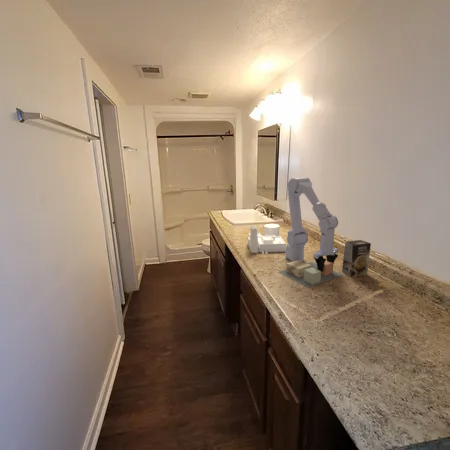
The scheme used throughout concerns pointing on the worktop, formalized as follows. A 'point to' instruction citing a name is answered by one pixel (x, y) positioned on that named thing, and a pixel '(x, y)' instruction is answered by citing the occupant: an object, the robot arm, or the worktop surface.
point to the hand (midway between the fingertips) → (324, 269)
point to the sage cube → (312, 275)
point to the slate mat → (301, 281)
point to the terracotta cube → (327, 268)
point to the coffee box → (356, 258)
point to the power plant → (266, 240)
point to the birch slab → (297, 267)
